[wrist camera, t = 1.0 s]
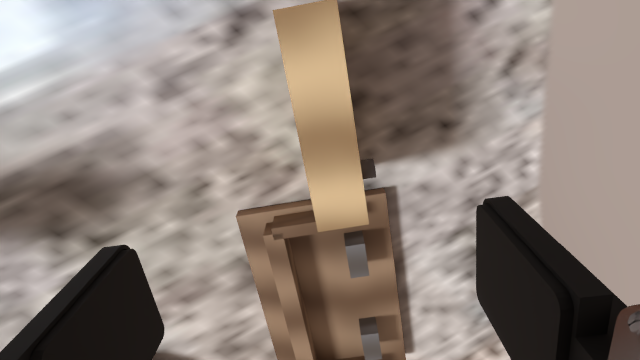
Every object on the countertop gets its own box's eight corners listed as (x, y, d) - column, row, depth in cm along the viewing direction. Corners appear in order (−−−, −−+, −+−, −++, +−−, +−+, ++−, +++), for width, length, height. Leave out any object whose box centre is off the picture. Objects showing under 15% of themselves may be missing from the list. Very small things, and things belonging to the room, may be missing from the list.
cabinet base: (238, 210, 32) (230, 229, 29) (383, 187, 31) (389, 204, 29) (283, 369, 39) (281, 396, 36) (404, 353, 38) (410, 380, 35)
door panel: (287, 12, 26) (272, 10, 18) (345, 1, 26) (358, -7, 18) (317, 174, 31) (317, 232, 23) (368, 166, 31) (386, 221, 22)
